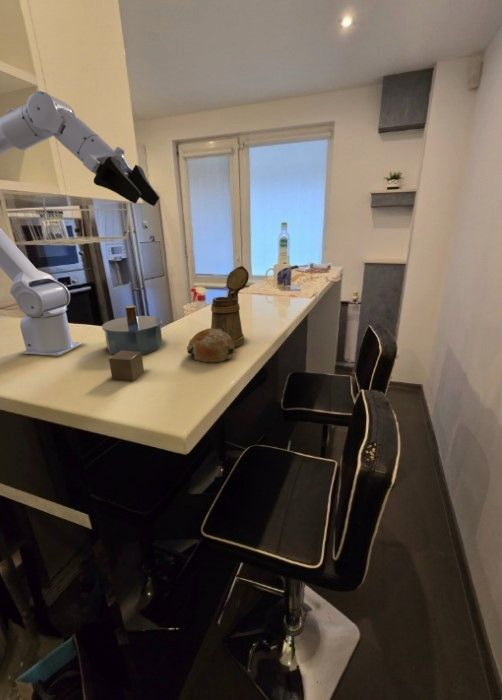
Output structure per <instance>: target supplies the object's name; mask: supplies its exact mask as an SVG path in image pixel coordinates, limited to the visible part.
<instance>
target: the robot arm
mask: <svg viewBox="0 0 502 700" xmlns="http://www.w3.org/2000/svg"><path fill="white" fill-rule="evenodd" d="M52 137H53V138H55V139H56V140H57V141H58V142H59V143H61V145H62V146H63V147H65V148H66V149H67V150H68V151H69V153H71V154H72V155H73V156H75V157H76V158H77V159H78V160H79V161H80V162H81V163H82V165H83V166H85V168H86V169H88V171H90V172H91V173H93V174H94V175H95V176H94V178H93V184H95V185H96V186H97V187H98V186H99V187H101V188H105V189H107V190H109V191H112V192H114V193H115V194H117V195H119V196H121V197H122V198H124V199H125V200H127V201H129V202H131V203H133V204H137V203H138V201H139V200H140V199H141V200H142V201H144V202H146V203H147V204H149V206H150V205H151V206H152V207H155V206H156V204H157V203H158V201H159V200H160V196H159V194H158V193H157V192H156V191H155V189H154V188H153V186H152V185H151V183H150V181H149V180H148V179H147V177H146V173H145V171H144V169H143V168H142V167H141V166H140V165H138V164H135V165H134V166H133V168H132V167H130V165H129V163H128V162H127V160H126V159H125V158H124V157H125V156H124V155H125V153H126V150H125V149H123V148H122V147H120V146H116V148H115V149H114V148H113V147H112V146H111V145H109V143H107V142H106V141H105V140H104V139H103V138H102V137H101V136H100V135H98V134H97V133H96V132H95V131H94V130H93V129H92V128H91V127H89V126H88V125H87V124H86V123H85V122H84V121H83V120H82V119H80V118H79V117H78V116H76V114H75V111H74V110H73V108H72V107H71V106H70V105H69V104H68V103H66V102H65V101H63V100H62V99H59V98H56V96H53V95H51V94H49V93H48V92H45V91H41V90H37V91H34V92H32V93H31V94H30V95H29V96H28V98H27V100H26V103H24V104H23V105H21V106H19V107H17V108H13V107H10V108H8V109H6V114H4V115H2V116H0V156H2V155H4V154H5V153H7V152H8V151H10V150H12V149H13V148H16V149H17V150H20V151H26V150H28V149H30V148H32V147H34V146H36V145H38V144H41V143H42V142H45V141H47V140H49V139H51V138H52ZM0 269H1V270H2V271H3V272H4V274H5V275H6V276H7V277H8V278H9V279H10V280H11V281H12V284H11V287H10V291H9V294H10V295H11V296H12V297H13V298H14V299H15V302H16V304H17V306H18V308H19V309H20V311H21V312H22V313H24V315H23V316H22V318H21V319H20V324H19V326H20V331H21V335H22V339H23V343H24V346H25V350H24V351H23V354H25V355H38V356H39V355H41V356H54V357H55V356H56V357H60V356H62V355H65V354H66V353H67V352H70V351H71V350H74V349H76V348H77V347H79V346H81V345H82V342H74V341H73V339H72V335H71V334H72V333H71V331H70V324H69V321H68V320H69V319H68V315H67V312H66V311H68V307H67V306H68V305H69V304H70V301H71V293H70V291H69V289H68V287H67V286H66V285H65V284H63V283H62V282H60V281H58V280H56V279H55V278H54V277H53V276H52V275H51V274H49V273H47V272H44V271H42V270H40V269H37V268H36V267H35V265H34V264H33V263H32V262H31V261H30V260H29V258H27V256H26V255H25V254H24V253H23V252H22V251H21V250H20V248H19V247H18V246H17V245H16V244H15V243H14V241H12V239H11V238H10V237H9V236H8V235H7V234H6V232H4V230H3V229H2V228H1V227H0Z"/></svg>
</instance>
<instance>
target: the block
mask: <svg viewBox="0 0 502 700" xmlns="http://www.w3.org/2000/svg"><path fill="white" fill-rule="evenodd" d="M108 362H109V369H110V374H111V380H112V381H127V382H134V381H135V380H137V378H139V377H141V375H142V374H143V373H145V368H144V359H143V354H142V353H141V352H138V351H120V352H118V353H117V354H115V355H114V354H112V355H111V356H110V357H109V358H108Z"/></svg>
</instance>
